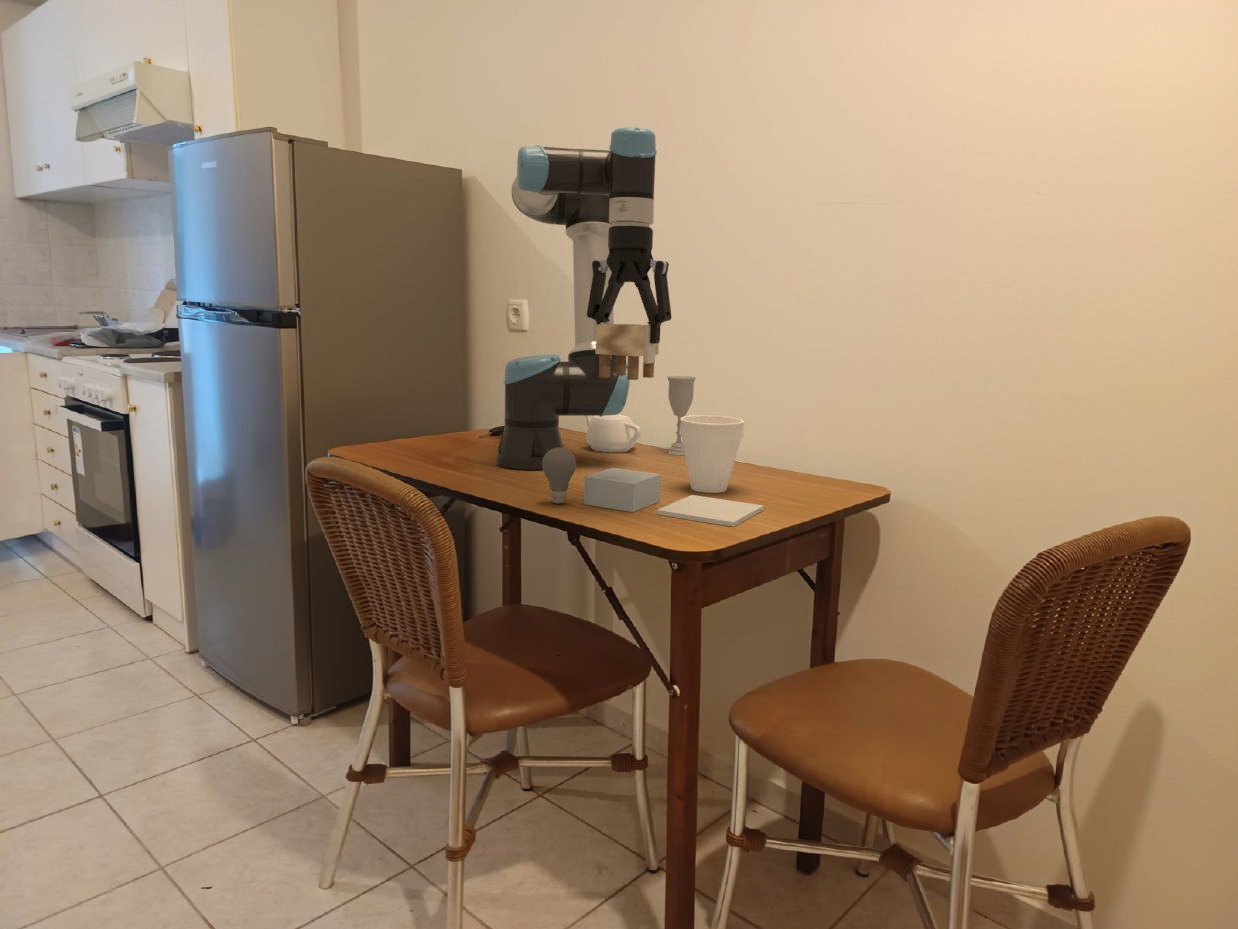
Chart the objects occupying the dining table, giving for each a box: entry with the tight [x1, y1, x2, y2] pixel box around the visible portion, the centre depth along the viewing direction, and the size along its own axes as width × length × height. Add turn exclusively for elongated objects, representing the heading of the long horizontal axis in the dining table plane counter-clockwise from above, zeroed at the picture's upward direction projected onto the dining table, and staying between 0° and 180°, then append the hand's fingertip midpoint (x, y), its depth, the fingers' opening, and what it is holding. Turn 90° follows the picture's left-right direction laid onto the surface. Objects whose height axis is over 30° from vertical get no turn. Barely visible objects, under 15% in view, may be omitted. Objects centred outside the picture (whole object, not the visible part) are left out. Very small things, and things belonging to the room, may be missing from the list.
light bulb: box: [542, 447, 577, 505], centre depth 154 cm, size 6×6×10 cm
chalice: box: [666, 375, 697, 456], centre depth 206 cm, size 7×7×18 cm
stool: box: [595, 323, 660, 381], centre depth 151 cm, size 8×8×9 cm
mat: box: [656, 494, 765, 528], centre depth 151 cm, size 14×14×1 cm
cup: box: [679, 414, 745, 494], centre depth 168 cm, size 12×12×14 cm
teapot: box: [584, 413, 642, 453], centre depth 210 cm, size 20×12×10 cm, turn 43°
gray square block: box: [583, 467, 662, 513], centre depth 156 cm, size 10×10×5 cm
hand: (627, 361), depth 151 cm, fingers closed on stool, 8 cm apart
